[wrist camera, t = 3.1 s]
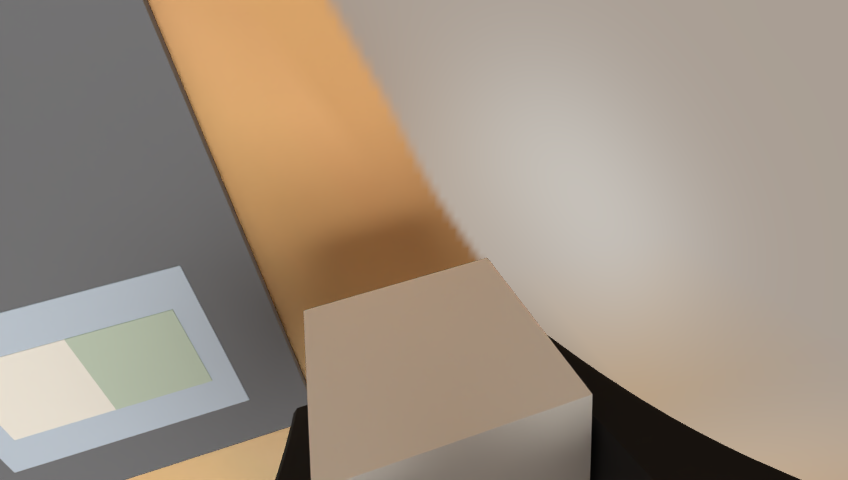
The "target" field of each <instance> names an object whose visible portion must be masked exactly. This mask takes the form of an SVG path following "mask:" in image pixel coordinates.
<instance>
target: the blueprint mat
mask: <svg viewBox="0 0 848 480" xmlns="http://www.w3.org/2000/svg"><path fill="white" fill-rule="evenodd" d="M305 405H308V402H307V384H306V381H305V379H304V376H303V374H302V372H301V369H300V367H299V364H298V362H297V360H296V357H295V355H294V352H293V350H292V347H291V345H290V343H289V340H288V338H287V335H286V333H285V331H284V328H283V326H282V323H281V321H280V319H279V316H278V314H277V311H276V309H275V307H274V304H273V302H272V299H271V297H270V295H269V292H268V290H267V287H266V285H265V283H264V280H263V278H262V275H261V273H260V270H259V268H258V266H257V263H256V261H255V258H254V256H253V254H252V251H251V249H250V246H249V244H248V242H247V239H246V237H245V234H244V232H243V230H242V227H241V225H240V222H239V220H238V218H237V215H236V213H235V210H234V208H233V206H232V203H231V201H230V198H229V196H228V193H227V191H226V189H225V186H224V184H223V181H222V179H221V177H220V174H219V172H218V169H217V167H216V165H215V162H214V160H213V157H212V155H211V153H210V150H209V148H208V145H207V143H206V141H205V138H204V136H203V133H202V131H201V129H200V126H199V124H198V121H197V119H196V116H195V114H194V112H193V109H192V107H191V104H190V102H189V100H188V97H187V95H186V92H185V90H184V88H183V85H182V83H181V80H180V78H179V76H178V73H177V71H176V68H175V66H174V64H173V61H172V59H171V56H170V54H169V52H168V49H167V47H166V44H165V42H164V39H163V37H162V35H161V32H160V30H159V27H158V25H157V23H156V20H155V18H154V15H153V13H152V11H151V8H150V6H149V3H148V1H147V0H0V480H126V479H129V478H132V477H135V476H138V475H141V474H145V473H148V472H151V471H154V470H157V469H160V468H163V467H166V466H169V465H173V464H176V463H179V462H182V461H185V460H188V459H191V458H194V457H197V456H200V455H204V454H207V453H210V452H213V451H216V450H219V449H222V448H225V447H228V446H231V445H235V444H238V443H241V442H244V441H247V440H250V439H253V438H256V437H259V436H262V435H266V434H269V433H272V432H275V431H278V430H281V429H284V428H287V427H290V426H291V423H292V418H293V414H294V412H295V410H296V409H297V408H299V407H302V406H305Z"/></svg>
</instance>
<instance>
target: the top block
mask: <svg viewBox="0 0 848 480" xmlns="http://www.w3.org/2000/svg"><path fill="white" fill-rule="evenodd" d="M304 333H305V356H306V379H307V402H308V425H309V447H310V470H311V480H590V465H591V430H592V396H593V394H592V393H591V392H590V390H589V389H588V388H587V387H586V385H585V384H584V383H583V381H582V380H581V379H580V377H579V376H578V375H577V374H576V372H575V371H574V370H573V368H572V367H571V366H570V364H569V363H568V362H567V361H566V359H565V358H564V357H563V355H562V354H561V353H560V351H559V350H558V349H557V348H556V346H555V345H554V344H553V342H552V341H551V340H550V339H549V337H548V336H547V335H546V333H545V332H544V331H543V330H542V328H541V327H540V326H539V324H538V323H537V322H536V320H535V319H534V318H533V316H532V315H531V314H530V313H529V311H528V310H527V309H526V307H525V306H524V305H523V304H522V302H521V301H520V300H519V298H518V297H517V296H516V294H515V293H514V292H513V290H512V289H511V288H510V287H509V285H508V284H507V283H506V281H505V280H504V279H503V277H502V276H501V275H500V274H499V272H498V271H497V270H496V268H495V267H494V266H493V265H492V263H491V262H490V261H489V259H488V258H484V259H481V260H477V261H474V262H471V263H467V264H464V265H460V266H457V267H453V268H450V269H446V270H443V271H439V272H436V273H432V274H429V275H425V276H422V277H418V278H415V279H411V280H408V281H405V282H401V283H398V284H394V285H391V286H387V287H384V288H380V289H377V290H373V291H370V292H366V293H363V294H359V295H356V296H352V297H349V298H345V299H342V300H339V301H335V302H332V303H328V304H325V305H321V306H318V307H314V308H311V309H307V310H304Z"/></svg>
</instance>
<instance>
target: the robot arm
mask: <svg viewBox="0 0 848 480" xmlns="http://www.w3.org/2000/svg"><path fill="white" fill-rule="evenodd" d="M546 335H547V334H546ZM547 336H548V335H547ZM548 337H549V336H548ZM549 339H550V340H551V341H552V342H553V344H554V345H555V346H556V348H557V349H558V350H559V351H560V353H561V354H562V355H563V357H564V358H565V359H566V361H567V362H568V363H569V364H570V366H571V367H572V368H573V370H574V371H575V372H576V374H577V375H578V376H579V377H580V379H581V380H582V381H583V383H584V384H585V385H586V387H587V388H588V389H589V390H590V392H591V393H592V394H593V396H592V430H591V465H590V480H800V479H798V478H796V477H793V476H791V475H789V474H786V473H784V472H782V471H779V470H777V469H775V468H773V467H770V466H768V465H766V464H763V463H761V462H759V461H756V460H754V459H752V458H750V457H747V456H745V455H743V454H741V453H739V452H737V451H735V450H733V449H731V448H729V447H727V446H724V445H723V444H721V443H719V442H717V441H715V440H713V439H711V438H709V437H707V436H705V435H703V434H701V433H699V432H697V431H695V430H694V429H692V428H690V427H688V426H686V425H684V424H683V423H681V422H679V421H677V420H675V419H674V418H672V417H670V416H668V415H666V414H665V413H663V412H662V411H660V410H658V409H657V408H655V407H653V406H651V405H650V404H648V403H646V402H645V401H643V400H641V399H640V398H638V397H637V396H635V395H634V394H632V393H630V392H629V391H627V390H626V389H624V388H623V387H621V386H619V385H618V384H617V383H615V382H613V381H612V380H610V379H609V378H607V377H606V376H604V375H603V374H601V373H600V372H598V371H597V370H595V369H594V368H592V367H591V366H590V365H588V364H587V363H585V362H584V361H582V360H581V359H579V358H578V357H577V356H575V355H574V354H572V353H571V352H570V351H569V350H567V349H566V348H564V347H563V346H561V345H560V344H559V343H557V342H556V341H555V340H553V339H552V338H551V337H549ZM275 480H311V470H310V447H309V425H308V405H305V406H302V407H299V408H297V409H296V410H295V412H294V414H293V418H292V423H291V427H290V431H289V435H288V439H287V442H286V446H285V450H284V453H283V456H282V460H281V463H280V466H279V470H278V473H277V476H276V479H275Z"/></svg>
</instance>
